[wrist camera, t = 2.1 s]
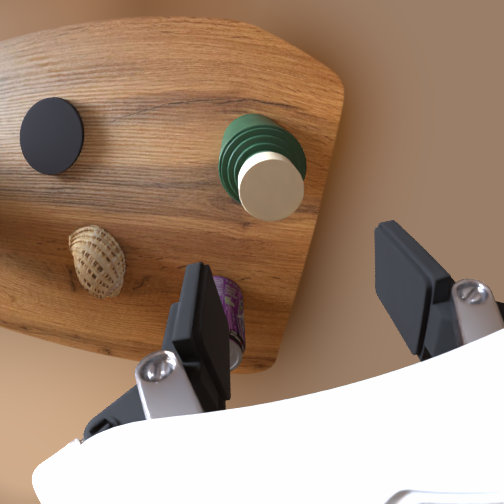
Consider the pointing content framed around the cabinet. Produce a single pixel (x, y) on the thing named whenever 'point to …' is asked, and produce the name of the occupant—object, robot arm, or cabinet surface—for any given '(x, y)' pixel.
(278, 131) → the bottle
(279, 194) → the cap
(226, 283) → the beverage can
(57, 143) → the coaster
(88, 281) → the seashell
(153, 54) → the cabinet surface
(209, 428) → the robot arm
